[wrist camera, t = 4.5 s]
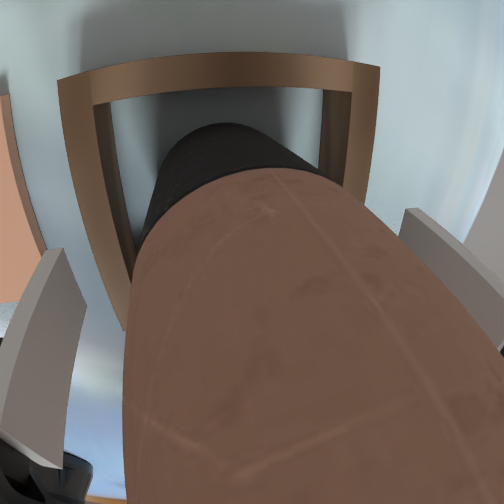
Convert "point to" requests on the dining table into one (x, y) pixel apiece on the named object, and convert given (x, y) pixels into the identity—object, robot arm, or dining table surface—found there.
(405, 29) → the dining table surface
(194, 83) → the collar
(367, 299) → the travel mug
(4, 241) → the coaster tile
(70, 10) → the dining table surface
